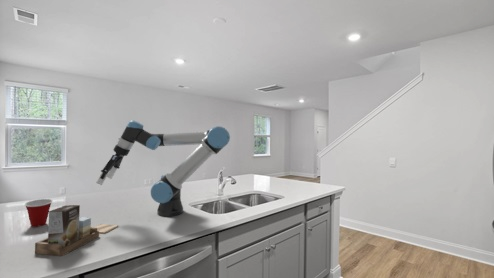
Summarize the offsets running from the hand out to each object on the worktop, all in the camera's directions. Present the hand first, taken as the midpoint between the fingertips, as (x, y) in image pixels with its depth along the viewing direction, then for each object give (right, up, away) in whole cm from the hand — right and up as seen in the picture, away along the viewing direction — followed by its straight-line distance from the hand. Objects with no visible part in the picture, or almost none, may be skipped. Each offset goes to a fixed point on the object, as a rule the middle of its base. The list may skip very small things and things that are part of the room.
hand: (104, 180), depth 127 cm
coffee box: (+3, -22, -32) cm, 39 cm away
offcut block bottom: (+4, -22, -24) cm, 33 cm away
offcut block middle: (+4, -19, -24) cm, 31 cm away
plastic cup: (-29, -22, -8) cm, 37 cm away
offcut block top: (+4, -16, -24) cm, 29 cm away
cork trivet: (+7, -22, -13) cm, 26 cm away
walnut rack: (+4, -22, -29) cm, 37 cm away
